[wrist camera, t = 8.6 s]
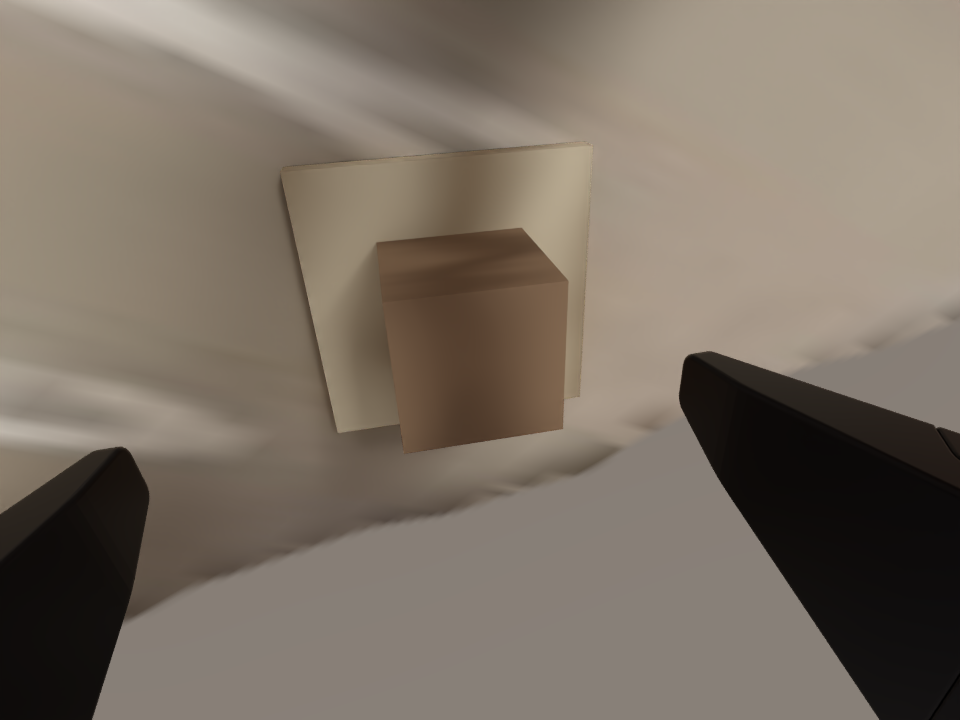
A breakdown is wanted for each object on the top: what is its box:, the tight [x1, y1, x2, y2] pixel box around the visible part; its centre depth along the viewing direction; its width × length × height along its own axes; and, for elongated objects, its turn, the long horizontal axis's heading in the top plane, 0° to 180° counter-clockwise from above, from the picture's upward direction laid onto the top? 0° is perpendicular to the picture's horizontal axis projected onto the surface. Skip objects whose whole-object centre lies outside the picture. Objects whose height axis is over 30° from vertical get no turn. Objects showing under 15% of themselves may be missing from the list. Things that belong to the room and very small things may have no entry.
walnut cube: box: [376, 228, 569, 454], centre depth 18 cm, size 5×5×5 cm
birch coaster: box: [280, 142, 593, 433], centre depth 21 cm, size 10×10×1 cm
